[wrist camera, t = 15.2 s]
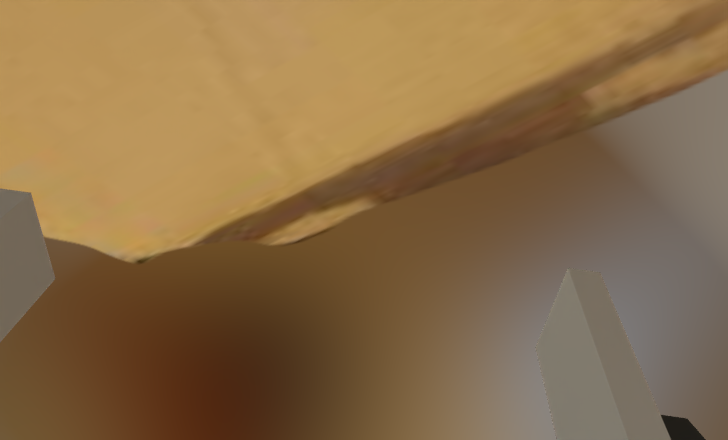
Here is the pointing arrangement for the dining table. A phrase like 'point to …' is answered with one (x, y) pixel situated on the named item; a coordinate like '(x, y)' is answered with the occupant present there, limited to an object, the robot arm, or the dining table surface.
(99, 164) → the dining table surface
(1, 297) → the robot arm
